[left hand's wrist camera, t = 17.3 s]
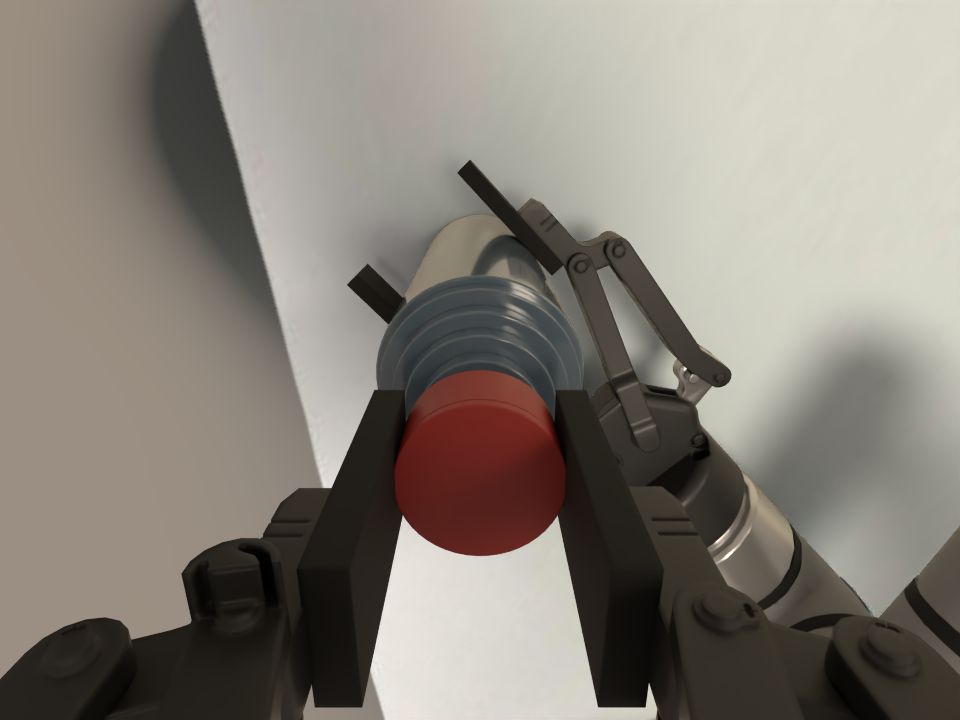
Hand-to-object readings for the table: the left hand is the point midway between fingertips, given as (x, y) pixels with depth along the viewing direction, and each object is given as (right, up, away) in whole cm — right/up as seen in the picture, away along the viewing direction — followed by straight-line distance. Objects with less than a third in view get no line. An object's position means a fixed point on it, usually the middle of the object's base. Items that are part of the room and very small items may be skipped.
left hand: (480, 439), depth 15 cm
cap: (0, -1, -2) cm, 2 cm away
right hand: (-3, +9, +13) cm, 16 cm away
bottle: (0, +7, +20) cm, 22 cm away
